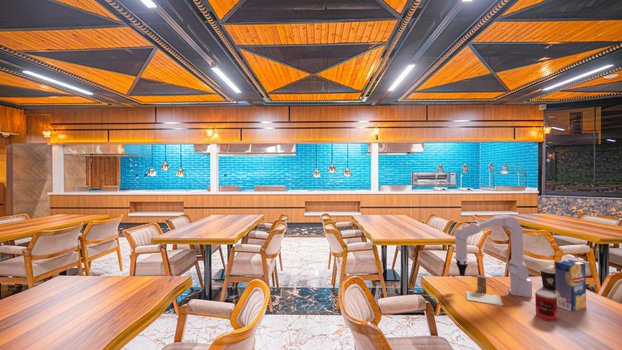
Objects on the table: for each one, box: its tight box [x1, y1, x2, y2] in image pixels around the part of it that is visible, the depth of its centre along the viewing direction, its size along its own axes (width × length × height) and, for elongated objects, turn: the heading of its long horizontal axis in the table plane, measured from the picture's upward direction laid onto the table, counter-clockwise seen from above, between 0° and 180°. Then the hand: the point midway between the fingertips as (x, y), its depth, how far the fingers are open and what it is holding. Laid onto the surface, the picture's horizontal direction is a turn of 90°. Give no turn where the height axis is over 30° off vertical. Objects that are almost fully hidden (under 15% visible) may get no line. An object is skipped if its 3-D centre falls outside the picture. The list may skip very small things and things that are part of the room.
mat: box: [465, 290, 504, 307], centre depth 151 cm, size 16×12×1 cm
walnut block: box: [476, 274, 487, 294], centre depth 159 cm, size 4×4×9 cm
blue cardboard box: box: [554, 258, 587, 312], centre depth 140 cm, size 7×11×22 cm, turn 109°
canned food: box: [534, 289, 558, 322], centre depth 130 cm, size 8×8×11 cm
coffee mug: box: [539, 268, 556, 292], centre depth 161 cm, size 12×9×10 cm
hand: (461, 273), depth 160 cm, fingers open, 7 cm apart
